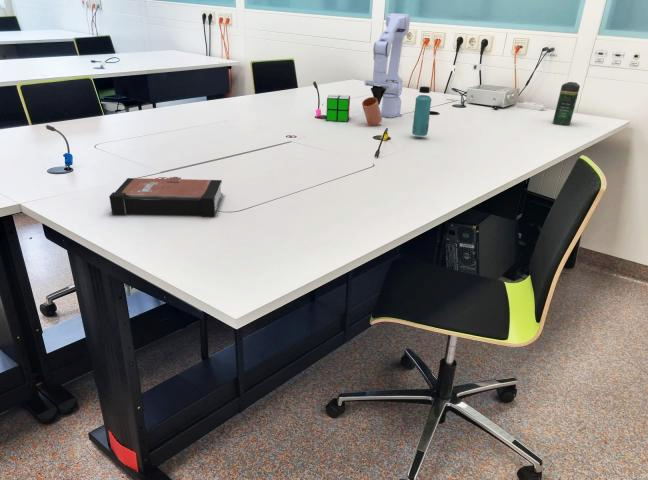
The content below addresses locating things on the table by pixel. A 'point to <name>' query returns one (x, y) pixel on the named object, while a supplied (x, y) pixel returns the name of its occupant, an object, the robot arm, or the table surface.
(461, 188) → the table surface
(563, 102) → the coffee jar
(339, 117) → the puzzle cube
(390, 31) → the robot arm
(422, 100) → the beverage bottle
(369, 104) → the cup
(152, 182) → the book
